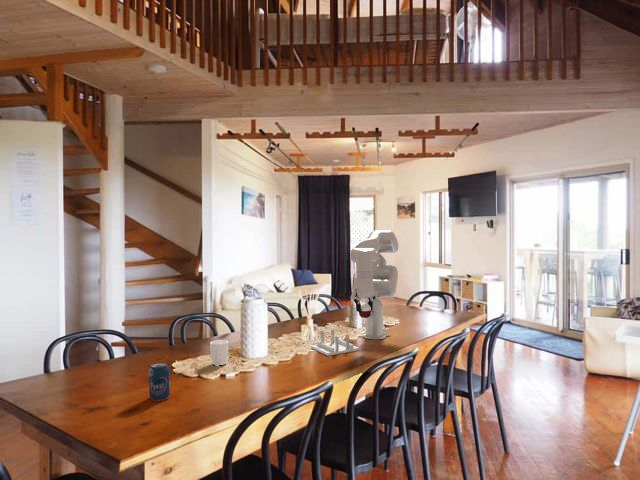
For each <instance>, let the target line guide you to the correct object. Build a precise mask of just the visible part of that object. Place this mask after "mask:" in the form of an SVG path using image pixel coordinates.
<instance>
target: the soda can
mask: <svg viewBox="0 0 640 480" xmlns="http://www.w3.org/2000/svg"><path fill="white" fill-rule="evenodd" d="M170 376H171V374H170V367H169V366H168V363H167V362H165V361H164V362H163V361H161V362H160V361H159V362H154V363H151V364H150V367H149V370H148V391H149V398H150V399H151V400H152V401H153V400H154V402H156V401H157V402H159V401H160V400H161V401H165V400H167V399H168V398H169V396H170V395H171V380H170V379H171V377H170ZM164 399H165V400H164Z"/></svg>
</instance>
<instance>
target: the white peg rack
mask: <svg viewBox="0 0 640 480" xmlns="http://www.w3.org/2000/svg"><path fill="white" fill-rule="evenodd" d="M330 333H331V334H330V337H331V338H330V339H331V340H330V341H331V342H326V343H325V330H323V329H322V330H321V331H320V341H319V340H317V341H316V344H314V345H312V344H311V345H310V348H311V349H312V350H314V351H316V352H319V353H321V354H323V355H325V356H326V357H329V356H334V355H340V354H345V353H351V352H356V351H360V347H359V346H356V345H354V344H352V343H350V334H349V333H348V334H347V333H346V334H345V340H342V339H340V337H339V336H338V335H335V329H334V328H331V329H330Z"/></svg>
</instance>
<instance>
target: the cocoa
mask: <svg viewBox="0 0 640 480" xmlns="http://www.w3.org/2000/svg"><path fill="white" fill-rule="evenodd" d="M371 312H373V311H371V307H370V306H369V305H368V304H366V303H365V302H364V303H362V304H361V312H358V315H359V316H360V318H362V319H366V318H368V317H370V316H372V315H373V314H372V315H371ZM373 313H374V312H373Z"/></svg>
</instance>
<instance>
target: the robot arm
mask: <svg viewBox="0 0 640 480" xmlns="http://www.w3.org/2000/svg"><path fill="white" fill-rule="evenodd" d="M398 249H399V241H398V238H397V237H396V234H395V233H394V231H392V230H372V231H371V232H370V233H369V235H368V236H367V238H366V239H365V240H362V241H359V242H357V243H355V244H354V245H353V247H352V248H351V250H350V252H349V253H350V254H349V258H350V261H351V262H352V263H355V270H356V273H355V276H356V277H354V281H353V289H352V291H353V292H352V294H351V295H350V299H351V300H352V301H353V302H354V304H355V310H356V312H357V313H359V312H361V305H362V304H361V302H362V299H364V301H365V302H364V303H366V304H368V305H369V306H370V307H371V311H373V312H374V313H373V312H371V315H372V314H373V315H372V316H370V317H368V318H365V333H363V334H362V337H363V338H365V339H368V340H383V339H385V338H386V337H387V334H386V333H389V332H391V328H389V327H388V328H385V327H384V305H383V302H382V301H381V299H380V298H393V297H394V296H395V295H396V291H397V285H398V278H399V277H398V276H399V271H398V269H397V267H396V265H391V264H389V265H388V264H387V260H386V258H385V257H384V256H383V255H382V254H394V253H396V252H398Z"/></svg>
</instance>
